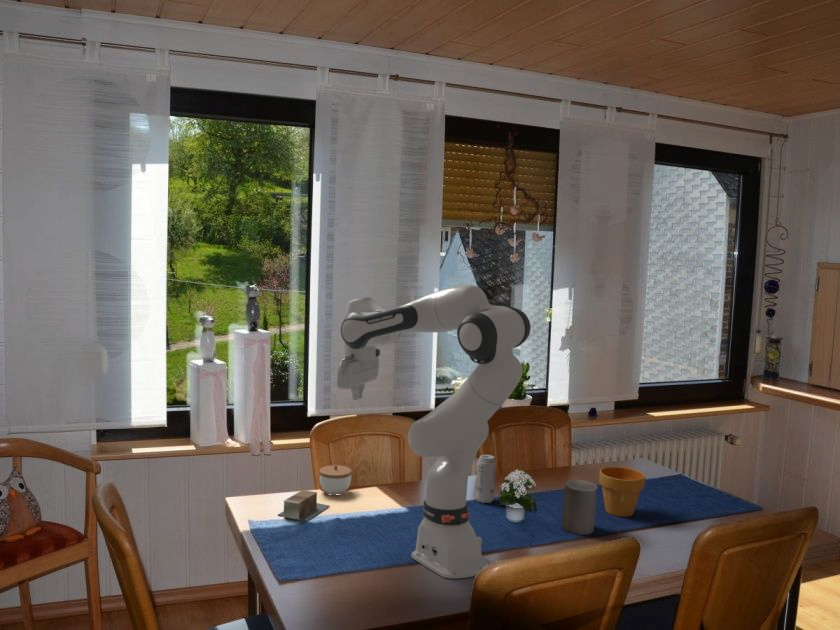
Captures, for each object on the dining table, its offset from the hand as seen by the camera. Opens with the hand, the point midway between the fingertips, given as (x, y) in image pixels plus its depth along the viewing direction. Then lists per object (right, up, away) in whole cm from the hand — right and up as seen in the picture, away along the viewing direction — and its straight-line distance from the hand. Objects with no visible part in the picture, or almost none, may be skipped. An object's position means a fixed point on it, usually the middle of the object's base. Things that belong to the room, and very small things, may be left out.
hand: (357, 399), depth 218 cm
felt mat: (-17, -36, +10) cm, 41 cm away
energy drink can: (+40, -37, +26) cm, 60 cm away
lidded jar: (-10, -34, +27) cm, 45 cm away
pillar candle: (+66, -40, +6) cm, 78 cm away
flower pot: (+83, -39, +21) cm, 94 cm away
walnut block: (-20, -33, +2) cm, 39 cm away
